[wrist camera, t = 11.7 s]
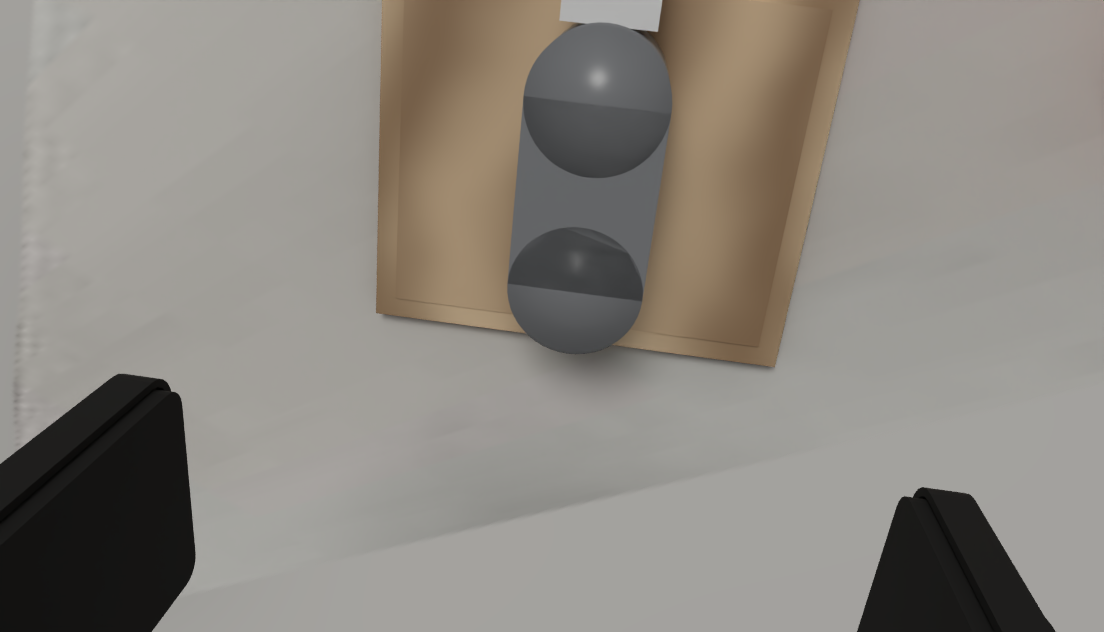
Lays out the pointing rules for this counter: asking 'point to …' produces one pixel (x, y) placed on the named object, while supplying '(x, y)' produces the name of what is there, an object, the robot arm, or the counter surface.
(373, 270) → the counter surface
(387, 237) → the board
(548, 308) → the usb stick
